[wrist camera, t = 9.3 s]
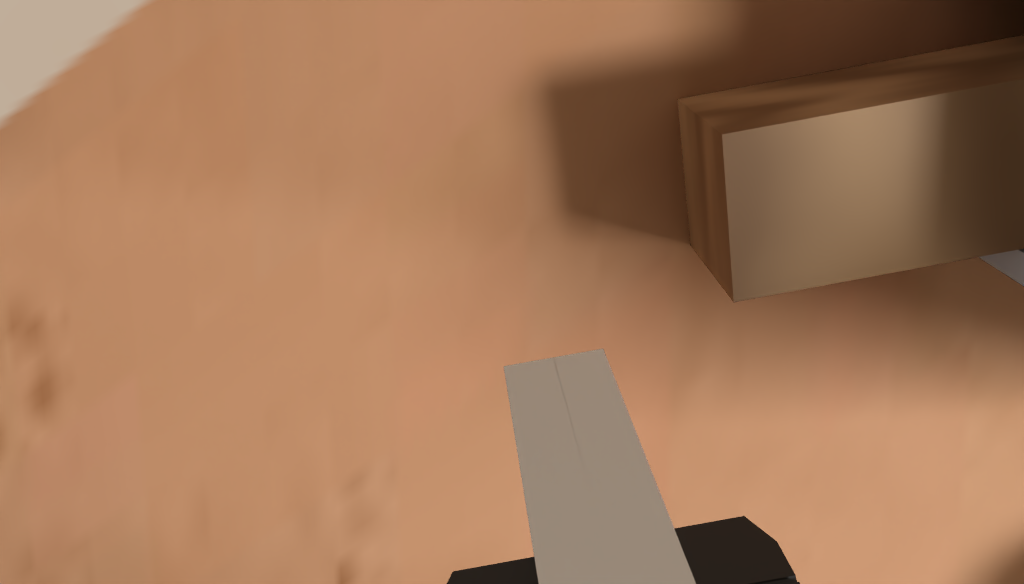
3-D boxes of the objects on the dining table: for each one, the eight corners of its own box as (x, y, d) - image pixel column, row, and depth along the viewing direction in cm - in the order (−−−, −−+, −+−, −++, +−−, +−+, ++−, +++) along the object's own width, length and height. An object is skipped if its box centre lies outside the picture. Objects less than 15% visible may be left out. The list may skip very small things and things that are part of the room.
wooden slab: (688, 242, 30) (733, 302, 25) (675, 97, 28) (721, 134, 23) (1090, 168, 30) (1207, 214, 25) (1106, 18, 28) (1238, 38, 23)
